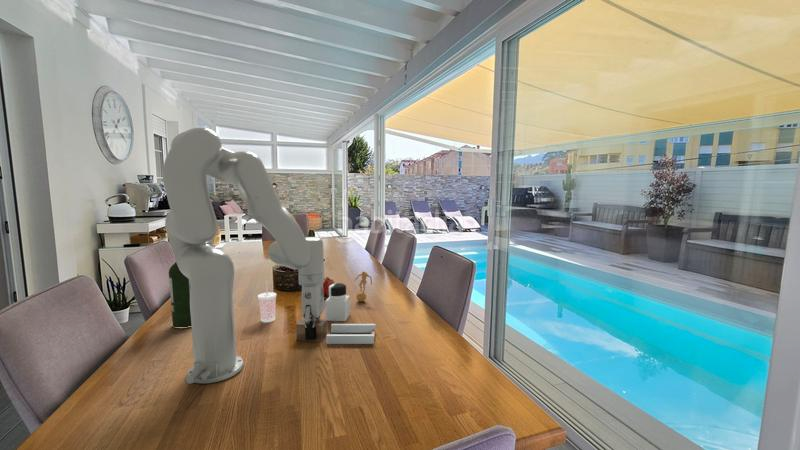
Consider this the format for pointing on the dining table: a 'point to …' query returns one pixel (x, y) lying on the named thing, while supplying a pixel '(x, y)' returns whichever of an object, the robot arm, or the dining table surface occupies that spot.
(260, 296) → the beverage cup
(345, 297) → the medicine bottle
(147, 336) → the dining table surface
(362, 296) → the figurine
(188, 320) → the wine bottle
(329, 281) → the dragon fruit
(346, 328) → the channel
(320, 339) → the block
